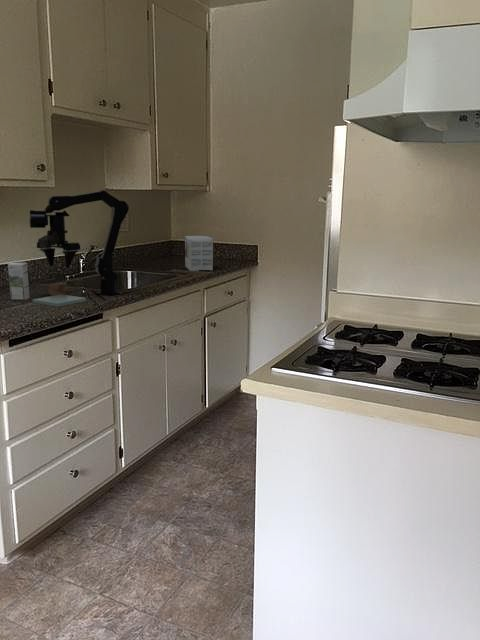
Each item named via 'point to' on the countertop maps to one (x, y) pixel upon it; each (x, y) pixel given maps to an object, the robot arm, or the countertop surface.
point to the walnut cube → (57, 289)
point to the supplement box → (198, 253)
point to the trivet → (59, 300)
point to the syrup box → (18, 280)
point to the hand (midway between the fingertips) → (59, 266)
